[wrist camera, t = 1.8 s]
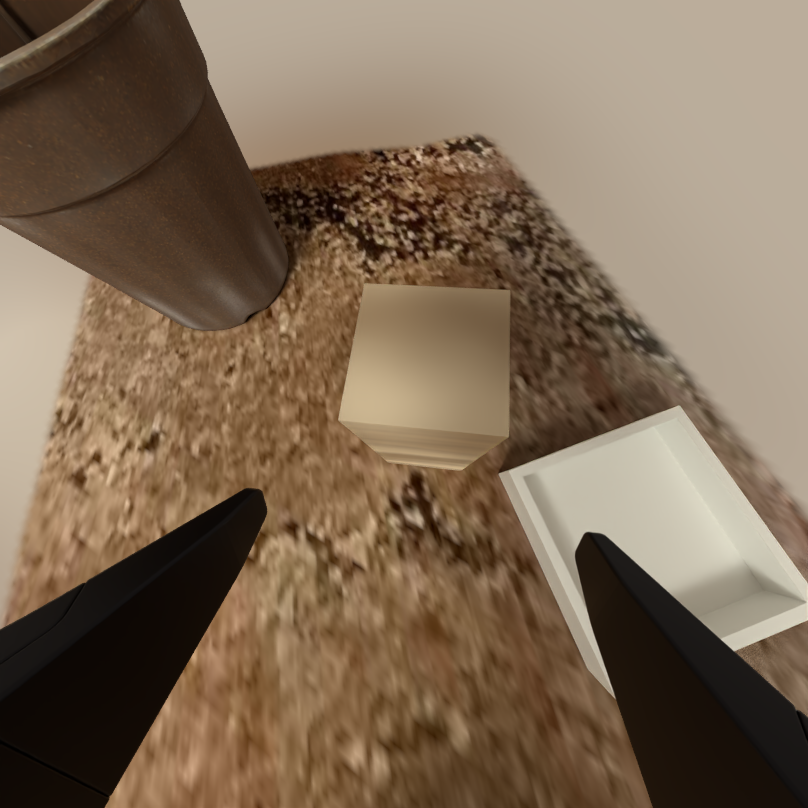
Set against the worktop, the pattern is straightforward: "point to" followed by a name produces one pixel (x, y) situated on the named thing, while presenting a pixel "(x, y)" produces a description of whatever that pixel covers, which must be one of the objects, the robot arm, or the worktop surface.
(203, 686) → the worktop surface
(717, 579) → the tray
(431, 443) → the beech block
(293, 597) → the worktop surface
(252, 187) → the plant pot
